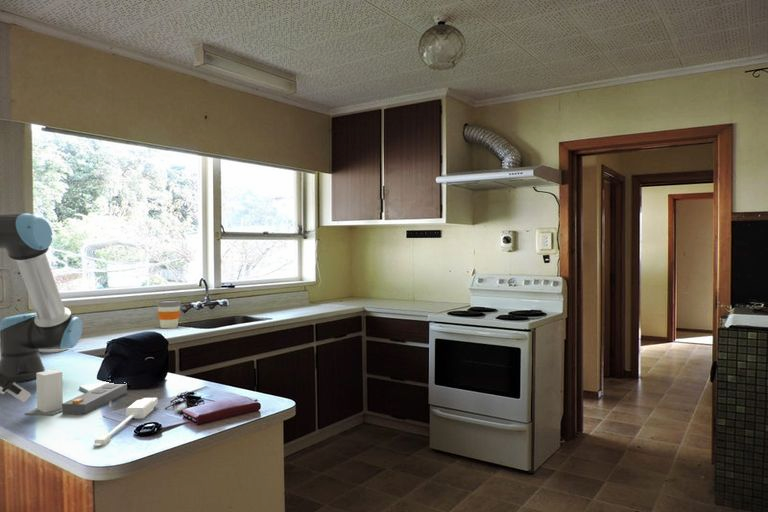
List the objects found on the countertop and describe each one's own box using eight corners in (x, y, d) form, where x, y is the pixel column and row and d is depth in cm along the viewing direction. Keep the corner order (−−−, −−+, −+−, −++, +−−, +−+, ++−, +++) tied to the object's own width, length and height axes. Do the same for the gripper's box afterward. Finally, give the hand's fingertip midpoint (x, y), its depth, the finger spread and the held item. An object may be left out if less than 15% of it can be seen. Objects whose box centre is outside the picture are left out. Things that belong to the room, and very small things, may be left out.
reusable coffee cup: (176, 324, 317) (176, 299, 316) (184, 327, 307) (183, 301, 307) (154, 326, 309) (153, 300, 308) (161, 329, 299) (161, 302, 299)
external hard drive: (79, 390, 184) (117, 383, 193) (88, 395, 178) (126, 387, 188) (79, 385, 184) (116, 378, 193) (88, 390, 178) (126, 383, 187)
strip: (120, 385, 188) (120, 375, 188) (139, 386, 188) (139, 375, 187) (62, 413, 158) (62, 401, 158) (85, 414, 158) (84, 402, 158)
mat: (46, 404, 167) (46, 403, 167) (74, 405, 166) (74, 404, 166) (24, 414, 158) (24, 413, 158) (54, 415, 157) (54, 414, 157)
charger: (37, 409, 161) (36, 372, 161) (55, 404, 165) (54, 369, 165) (44, 412, 158) (44, 375, 158) (62, 407, 162) (62, 371, 162)
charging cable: (86, 452, 133) (86, 438, 133) (142, 405, 166) (142, 395, 165) (107, 452, 133) (106, 439, 133) (159, 405, 166) (158, 395, 165)
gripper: (-79, 356, 146) (-13, 398, 159) (-43, 369, 132) (26, 413, 145) (-55, 334, 150) (7, 376, 163) (-18, 344, 136) (47, 389, 149)
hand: (16, 394), depth 154 cm, fingers open, 13 cm apart
